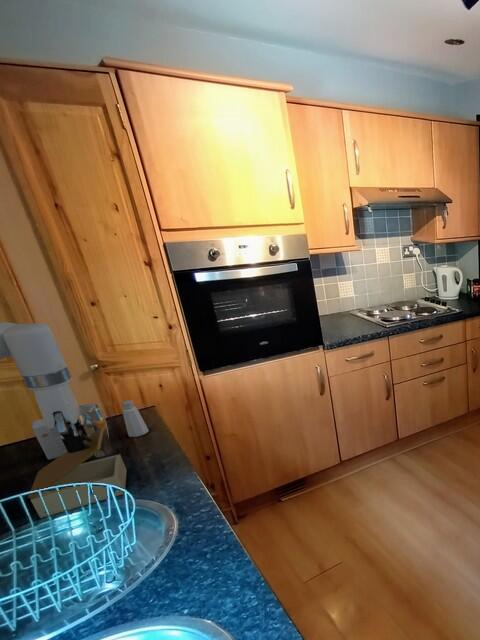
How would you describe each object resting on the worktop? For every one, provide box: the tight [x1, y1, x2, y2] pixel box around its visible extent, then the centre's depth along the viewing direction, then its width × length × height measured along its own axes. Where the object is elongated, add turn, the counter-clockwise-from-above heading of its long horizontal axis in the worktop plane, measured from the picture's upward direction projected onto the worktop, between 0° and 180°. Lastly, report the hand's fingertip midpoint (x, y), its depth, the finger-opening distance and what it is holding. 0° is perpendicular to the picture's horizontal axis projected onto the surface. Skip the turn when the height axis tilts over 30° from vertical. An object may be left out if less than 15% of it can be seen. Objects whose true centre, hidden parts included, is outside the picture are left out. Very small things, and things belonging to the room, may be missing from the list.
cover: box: [28, 428, 104, 500], centre depth 109 cm, size 16×13×5 cm
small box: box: [31, 418, 69, 461], centre depth 130 cm, size 8×6×10 cm
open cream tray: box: [30, 453, 127, 519], centre depth 113 cm, size 16×13×5 cm
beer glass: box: [78, 403, 118, 461], centre depth 127 cm, size 7×7×15 cm
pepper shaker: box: [120, 399, 149, 438], centre depth 140 cm, size 5×5×11 cm
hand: (78, 445), depth 110 cm, fingers closed on cover, 5 cm apart
